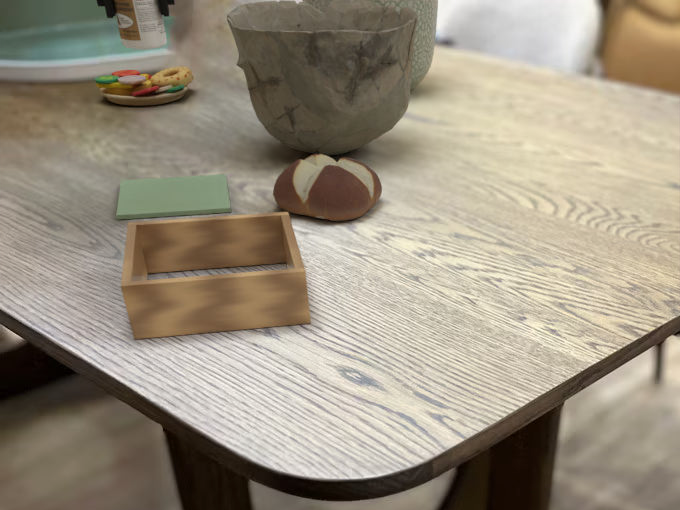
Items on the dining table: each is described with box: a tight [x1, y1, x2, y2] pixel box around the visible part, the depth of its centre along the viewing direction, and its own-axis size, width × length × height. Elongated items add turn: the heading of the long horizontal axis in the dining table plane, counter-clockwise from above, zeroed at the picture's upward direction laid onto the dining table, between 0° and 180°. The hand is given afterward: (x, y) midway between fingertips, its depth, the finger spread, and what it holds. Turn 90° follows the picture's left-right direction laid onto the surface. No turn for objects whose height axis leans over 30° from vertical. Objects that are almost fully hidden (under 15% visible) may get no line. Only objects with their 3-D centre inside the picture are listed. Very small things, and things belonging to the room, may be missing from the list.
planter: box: [302, 0, 439, 92], centre depth 127 cm, size 21×21×19 cm
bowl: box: [226, 0, 418, 156], centre depth 104 cm, size 22×22×15 cm
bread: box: [272, 153, 383, 222], centre depth 92 cm, size 11×11×5 cm
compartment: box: [120, 211, 312, 340], centre depth 74 cm, size 15×15×4 cm
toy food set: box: [94, 65, 195, 107], centre depth 127 cm, size 13×13×3 cm
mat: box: [115, 173, 232, 221], centre depth 95 cm, size 12×12×1 cm
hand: (138, 12), depth 82 cm, fingers closed on pill bottle, 4 cm apart
